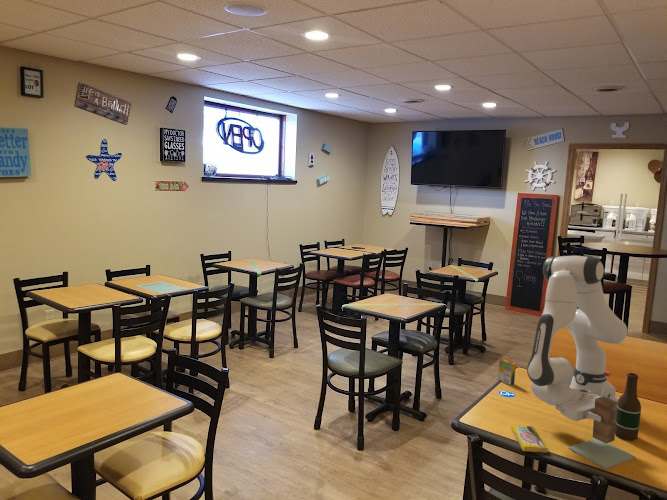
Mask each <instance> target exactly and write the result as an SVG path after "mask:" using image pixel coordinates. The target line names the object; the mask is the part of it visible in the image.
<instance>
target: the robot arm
mask: <svg viewBox="0 0 667 500" xmlns="http://www.w3.org/2000/svg"><path fill="white" fill-rule="evenodd" d="M604 269H605V268H604V263H603V262H602V261H601V259H599V257H595V256H582V255H562V256H561V255H560V256H559V255H554V256H553V255H552V256H550V257H547V258H546V260H545V261H544V262H543V264H542V273H543V277H544V278H545V279H546V281H547V286H546V289H545V290H546V291H545V299H544V308H543V311H542V313H541V316H540V318H539V319H538V322H537V325H536V330H535V335H534V340H533V347H532V352H531V356H530V357H529V361H528V363H527V367H526V374H527V375H528V378H529V380H530V381H531V382H530V390H531V392H532V394H533V395H534V396H535V397H536V398H537V399H538V400H541V401H542V402H544V403H546V404H548V405H551V406H555V409H556V411H559V412H560V414H561V415H562V416H565V417H566V418H567V419H569V420H571V421H575V422H578V421H582V420H586V419H589V420H591V421H594V420H596V421H599V422H601V421H603V416H601V415H599V414H598V415H596V414H594V408H595V399H597V398H600V397H603V396H604V397H607V398H609V399H612V400H614V401H616V402H618V399H619V398H620V397H618V396H616V388H615V386H613V384H612V383H611V382H610V381H608V379H607V377H611V375H612V373H611V371H608V370H606V362H607V354H606V352H605V351H604V349H603V348H601V346H600V345H599V343H598V341H599V342H602V343H605V344H612V345H618V344H621V343H622V342H624V341H625V340H626V338H627V335H628V327H627V325H626V323H625V322H624V321H622V320H621V319H620V318H619V317H618V316H617V315H616V314H615V313H614V312H613V310H612V309H611V308H610V306H609V304H608V303H607V300H606V299H605V294H604V290H603V285H602V279H603V277H604V272H605V271H604ZM564 327H566V329H567V330H568V331H569V332H570V334H571V336H572V337H573V340H574V341H573V342H574V343H575V348H576V359H575V361H576V362H575V366H574V367H573V365H572V363H571V362H570V360H568V359H567V358H565V357H551V356H550V355H551V351H552V344H553V339H554V336H555V334H557V332H558V331H559V330H561V329H562V328H564Z"/></svg>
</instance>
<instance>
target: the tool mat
mask: <svg viewBox="0 0 667 500" xmlns="http://www.w3.org/2000/svg"><path fill="white" fill-rule="evenodd" d="M568 450H569V451H571V452H574V454H577V455H579V456H581V457H583V458H585V459H586V460H588V461H590V462H591V463H594V464H595V465H597V466H599V467H600V468H602V469H605V470H608V469H611V468H613V467H616V466H619V465H621V464H623V463H626V462H629V461H631V460H633V459H636V455H633V454H631V453H630V452H628V451H625V450H623V449H621V448H620V447H617V446H615V445H614V444H611V443H610V442H609V443H607V444H605V443H603V442H601V441H599V440H597V439H595V438H592V439H590V440H585V441H583V442H580V443H576V444H574V445H571V446H568Z"/></svg>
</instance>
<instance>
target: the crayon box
mask: <svg viewBox="0 0 667 500" xmlns="http://www.w3.org/2000/svg"><path fill="white" fill-rule="evenodd" d="M516 368H517V363H514V362H513V360H511V359H508V358H506V357H502V356H499V360H498V372H497V381H500V380H501V381H500V382H502V383H505V384H507V385H509V386H512V385H514V384H515V378H516Z"/></svg>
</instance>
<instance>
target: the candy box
mask: <svg viewBox="0 0 667 500" xmlns="http://www.w3.org/2000/svg"><path fill="white" fill-rule="evenodd" d="M510 429H511V431H512V433H513V435H514V436H515V438H516V441H517V442H518V444H519V446H520V448H521V449H522V451H523V452H533V453H546V454H547V453H549V451H548V450H549V448H548V446H547V444H546V443H545V441H544V440H543V439H542V437H541V436H540V434H539V432H538V430H536V428H535V426H534V425H521V424H511V427H510Z"/></svg>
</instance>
